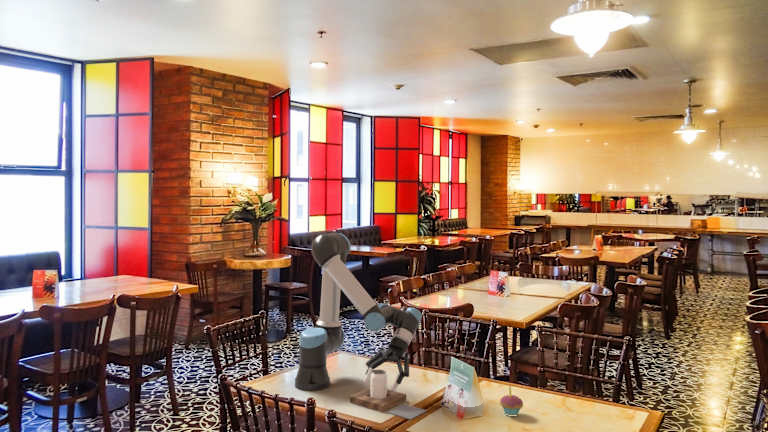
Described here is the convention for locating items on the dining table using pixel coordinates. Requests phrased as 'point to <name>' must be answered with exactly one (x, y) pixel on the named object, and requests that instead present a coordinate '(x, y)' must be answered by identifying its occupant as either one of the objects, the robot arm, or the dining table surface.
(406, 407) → the mat
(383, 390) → the can
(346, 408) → the dining table surface
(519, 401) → the cupcake
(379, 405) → the holder
